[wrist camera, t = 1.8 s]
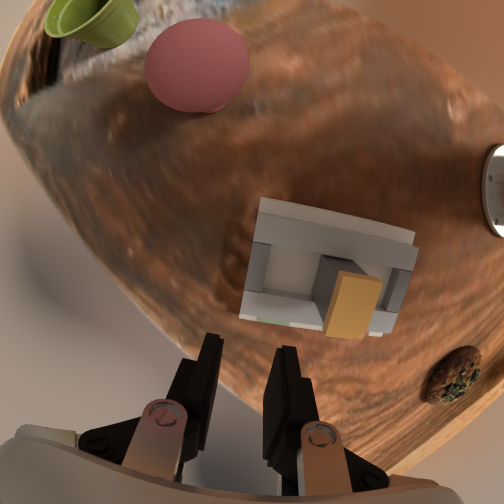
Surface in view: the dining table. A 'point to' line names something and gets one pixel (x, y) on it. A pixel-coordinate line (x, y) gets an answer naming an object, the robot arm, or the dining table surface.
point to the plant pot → (92, 21)
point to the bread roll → (454, 376)
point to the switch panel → (307, 261)
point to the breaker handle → (344, 297)
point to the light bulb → (196, 65)
